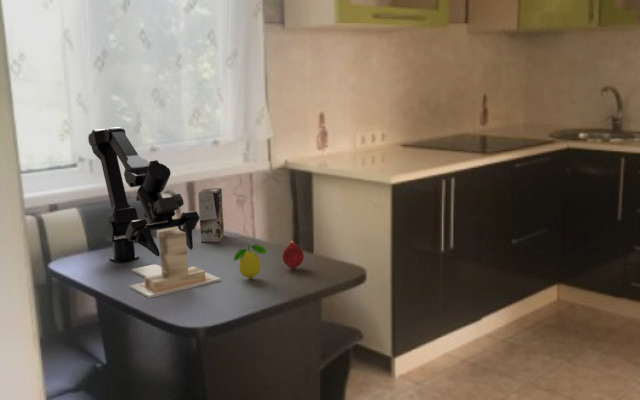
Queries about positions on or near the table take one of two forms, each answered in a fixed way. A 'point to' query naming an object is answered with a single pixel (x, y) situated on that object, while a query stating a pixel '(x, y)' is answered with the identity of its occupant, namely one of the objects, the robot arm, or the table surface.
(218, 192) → the coffee box
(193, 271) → the birch tee block
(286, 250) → the onion
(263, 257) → the table surface
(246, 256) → the lemon
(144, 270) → the tee mat
